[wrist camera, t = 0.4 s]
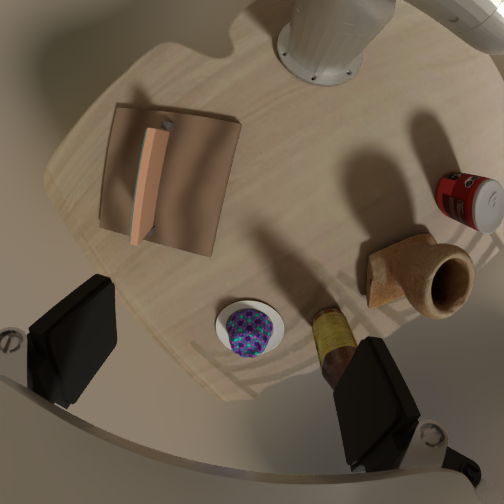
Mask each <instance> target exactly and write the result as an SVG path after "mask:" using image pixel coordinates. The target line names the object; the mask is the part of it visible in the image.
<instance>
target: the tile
mask: <svg viewBox="0 0 504 504" xmlns="http://www.w3.org/2000/svg"><path fill="white" fill-rule="evenodd" d="M169 133H170V132H167V131H163V130H159V129H154V128H147V129H146V132H145V137H144V141H143V146H142V152H141V157H140V162H139V168H138V174H137V181H136V187H135V194H134V202H133V210H132V219H131V229H130V241H129V242H130V244H133V245H137V246H138V245H139V243H140V242H141V241H142V239H143V238H144V237H145V236H146V234H147V233H148V232H149V231H150V229H151V228H152V227H153V222H154V215H155V208H156V201H157V195H158V189H159V183H160V177H161V172H162V167H163V161H164V156H165V151H166V147H167V142H168V138H169Z"/></svg>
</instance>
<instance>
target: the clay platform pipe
mask: <svg viewBox="0 0 504 504" xmlns="http://www.w3.org/2000/svg"><path fill="white" fill-rule="evenodd" d="M473 283H474V265H473V262H472V260H471V258H470V256H469V255H468V254H467V253H466V252H465V251H464V250H463V249H461V248H460V247H458V246H455V245H451V244H437V242H436V240H435V239H434V237H433V236H432V235H431V234H420V235H415V236H412V237H409V238H407V239H405V240H402V241H400V242H398V243H395V244H393V245H391V246H388V247H386V248H384V249H382V250H379V251H377V252H375V253H373V254H371V255H369V262H368V266H367V283H366V292H367V295H366V297H367V305H368V308H370V309H372V308H375V307H378V306H381V305H383V304H386V303H389V302H391V301H394V300H396V299H398V298H400V297H403V296H405V295H406V297H407V299H408V301H409V302H410V304H411V305H412V306H413V307H414V308H415V309H416V310H417V311H418V312H419V313H421V314H422V315H424V316H426V317H429V318H432V319H443V318H446V317H449V316H451V315H452V314H454V313H455V312H456V311H457V310H458V309H459V308H461V307H462V306H463V305H464V303H465V302H466V301H467V299H468V297H469V295H470V293H471V290H472V287H473Z"/></svg>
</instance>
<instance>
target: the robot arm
mask: <svg viewBox="0 0 504 504" xmlns="http://www.w3.org/2000/svg"><path fill="white" fill-rule="evenodd" d="M404 1H406V2H408V3H409V4H411V5H413V6H414V7H416V8H418V9H419V10H421V11H422V12H424V13H425V14H427V15H428V16H430V17H431V18H433V19H434V20H436V21H437V22H439V23H440V24H441V25H443V26H444V27H446V28H447V29H448V30H450V31H451V32H452V33H454V34H455V35H456V36H458V37H459V38H460V39H462V40H463V41H464V42H466V43H467V44H468V45H470V46H471V47H473V48H475V49H476V50H478V51H481V52H483V53H486V54H491V55H500V54H504V0H404ZM395 3H396V0H294V5H293V12H292V20H291V21H290V22H289V23H287V24H286V25H285V26H284V27H283V29H282V30H281V31H280V34H279V36H278V41H277V50H278V55H279V57H280V60H281V62H282V63H283V65H284V66H285V68H286V69H287V70H288V71H289V72H290V73H292V74H293V75H294V76H296V77H297V78H299V79H301V80H303V81H305V82H307V83H310V84H313V85H318V86H335V85H339V84H342V83H345V82H346V81H348V80H350V79H351V78H352V77H353V76H354V75H355V74H356V73H357V72H358V70H359V68H360V66H361V63H362V51H363V49H364V48H365V47H366V46H367V45H368V44H369V43H370V42H371V41H372V40H373V39H374V38H375V37H376V36H377V34H378V33H379V32H380V31H381V30H382V29H383V28H384V27H385V26H386V25H387V24H388V23H389V21H390V20H391V19H392V17H393V14H394V11H395ZM283 54H285V55H286V56H283ZM347 73H349V75H348V74H347ZM311 78H314V80H311ZM29 331H30V333H28V334H27V335H26V334H25V332H24V331H22V330H21V329H19V328H14V327H9V328H4V329H2V330H0V504H504V498H503V497H502V496H501V495H500V494H499V493H498V492H497V491H496V490H495V489H494V488H493V487H492V486H490V484H489V483H488V482H487V481H486V480H485V479H482V480H481V470H480V467H479V466H478V464H477V463H475V462H474V461H473V460H471V459H469V458H467V457H465V456H464V455H462V454H460V453H458V452H456V451H455V450H453V449H451V448H449V447H448V446H447V445H448V434H447V432H446V430H445V429H444V428H443V427H442V425H440V424H439V423H437V422H435V421H433V420H424V421H422V422H420V423H419V422H418V418H419V417H420V416H421V414H420V412H419V410H418V408H417V406H416V404H415V401H414V399H413V397H412V395H411V393H410V391H409V389H408V387H407V385H406V383H405V381H404V379H403V377H402V375H401V373H400V371H399V369H398V367H397V366H396V363H395V361H394V360H393V358H392V356H391V354H390V352H389V350H388V349H387V347H386V345H385V343H384V341H383V339H382V338H377V337H370V336H368V337H366V338H365V340H364V339H363V340H361V341H360V343H359V345H358V347H357V349H356V351H355V353H354V355H353V357H352V358H351V360H350V362H349V364H348V366H347V368H346V369H345V371H344V373H343V375H342V376H341V378H340V380H339V382H338V383H337V385H336V387H335V389H334V393H333V396H334V401H335V406H336V411H337V416H338V420H339V425H340V430H341V435H342V440H343V446H344V451H345V457H346V462H347V464H348V465H350V466H351V472H358V471H365V470H366V473H358V474H342V475H289V474H274V473H263V472H254V471H246V470H239V469H233V468H227V467H221V466H216V465H211V464H206V463H202V462H198V461H193V460H189V459H185V458H181V457H178V456H174V455H171V454H168V453H164V452H161V451H158V450H155V449H151V448H149V447H146V446H143V445H140V444H137V443H135V442H132V441H129V440H127V439H124V438H122V437H119V436H117V435H114V434H112V433H110V432H107V431H105V430H103V429H101V428H99V427H96V426H94V425H92V424H90V423H88V422H86V421H84V420H82V419H80V418H78V417H76V416H74V415H72V414H70V413H69V412H67V411H65V410H63V409H61V408H59V407H58V406H56V405H54V403H57V404H59V405H60V406H62V407H64V408H66V409H67V408H68V407H69V405H70V404H74V403H75V402H76V401H77V400H78V398H79V397H80V395H81V394H82V393H83V391H84V390H85V388H86V387H87V385H88V384H89V383H90V381H91V380H92V378H93V377H94V375H95V374H96V372H97V371H98V370H99V368H100V367H101V366H102V364H103V363H104V362H105V360H106V359H107V357H108V356H109V355H110V353H111V352H112V351H113V349H114V348H115V346H116V344H117V329H116V313H115V285H114V283H112V281H111V279H110V278H109V277H106V276H103V275H100V274H95V275H94V276H92V277H91V278H90V279H88V280H87V281H86V282H84V283H83V284H82V285H80V286H79V287H78V288H77V289H75V290H74V291H73V292H71V293H70V294H69V295H68V296H66V297H65V298H64V299H63V300H61V301H60V302H59V303H58V304H56V305H55V306H54V307H53V308H51V309H50V310H49V311H48V312H47V313H46V314H44V315H43V316H42V317H41V318H39V319H38V320H37V321H36V322H35V323H34V324H32V325H31V326H30V327H29ZM480 480H481V481H480Z"/></svg>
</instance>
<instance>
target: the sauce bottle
mask: <svg viewBox="0 0 504 504" xmlns="http://www.w3.org/2000/svg"><path fill="white" fill-rule="evenodd" d="M312 332H313V336H314V340H315V344H316V349H317V353H318V358H319V362H320V367H321V371H322V375H323V377H324V379H325V380H326V381H327V382H328V384H329V385H330V386H331V388H332V389H333V390H334V389H335V387H336V385H337V383H338V382H339V380H340V378H341V376H342V375H343V373H344V371H345V369H346V368H347V366H348V364H349V362H350V360H351V358H352V357H353V355H354V353H355V351H356V349H357V347H358V344H357V342H356V340H355V337H354V335H353V333H352V330H351V328H350V326H349V323H348V321H347V319H346V317H345V316H344V314H343V313H342V312H341V311H340V310H338V309H335V308H327V309H323V310H322V311H320V312H319V313H317V314H316V315H315V317H314V318H313V322H312Z"/></svg>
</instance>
